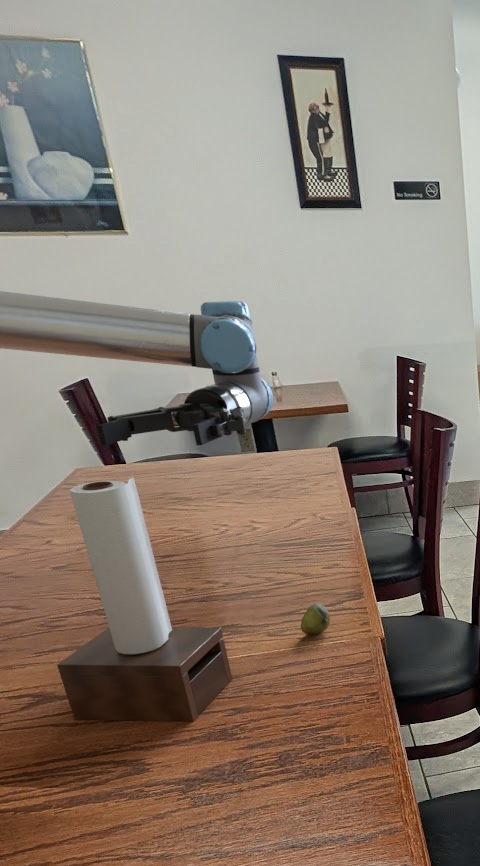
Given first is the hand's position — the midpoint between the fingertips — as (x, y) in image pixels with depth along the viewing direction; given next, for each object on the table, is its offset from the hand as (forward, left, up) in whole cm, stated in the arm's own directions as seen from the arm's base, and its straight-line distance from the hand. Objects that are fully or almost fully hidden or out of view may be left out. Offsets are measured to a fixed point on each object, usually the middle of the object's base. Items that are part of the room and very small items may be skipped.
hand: (149, 435), depth 113 cm
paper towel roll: (+2, -17, -24) cm, 30 cm away
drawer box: (+2, -17, -32) cm, 36 cm away
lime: (+17, +5, -32) cm, 37 cm away
